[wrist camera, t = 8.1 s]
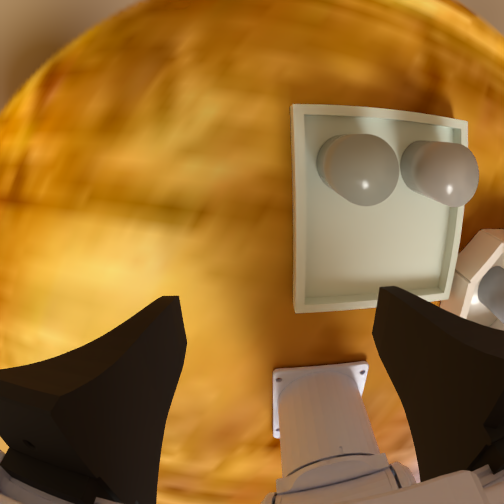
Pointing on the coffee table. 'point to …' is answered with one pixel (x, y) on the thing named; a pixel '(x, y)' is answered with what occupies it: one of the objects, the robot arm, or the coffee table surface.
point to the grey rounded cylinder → (493, 291)
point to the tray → (368, 216)
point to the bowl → (475, 277)
